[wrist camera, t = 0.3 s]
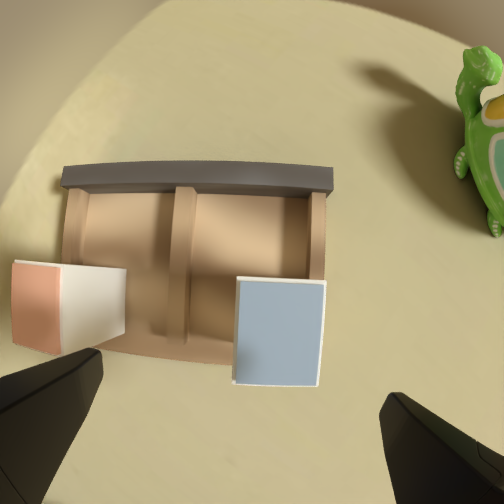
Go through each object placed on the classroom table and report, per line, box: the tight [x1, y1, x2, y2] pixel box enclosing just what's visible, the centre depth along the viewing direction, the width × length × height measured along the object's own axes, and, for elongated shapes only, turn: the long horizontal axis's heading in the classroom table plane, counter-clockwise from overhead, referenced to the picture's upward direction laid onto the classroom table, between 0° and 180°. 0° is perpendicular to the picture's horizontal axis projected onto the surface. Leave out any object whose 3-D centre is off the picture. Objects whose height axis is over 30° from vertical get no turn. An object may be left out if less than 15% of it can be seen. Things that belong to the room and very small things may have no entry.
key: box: [11, 260, 127, 357], centre depth 18 cm, size 5×4×9 cm
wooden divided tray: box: [60, 161, 334, 365], centre depth 22 cm, size 14×20×4 cm
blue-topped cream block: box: [232, 276, 327, 387], centre depth 18 cm, size 5×4×9 cm
